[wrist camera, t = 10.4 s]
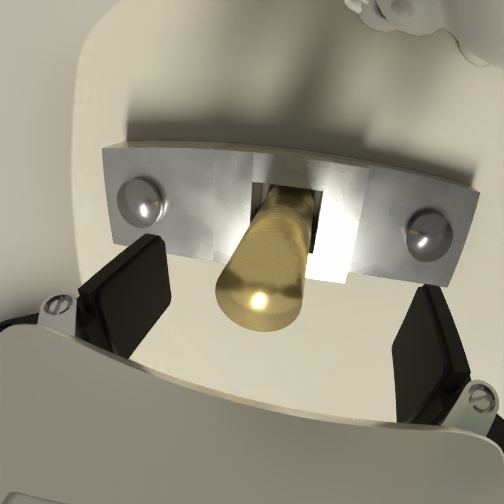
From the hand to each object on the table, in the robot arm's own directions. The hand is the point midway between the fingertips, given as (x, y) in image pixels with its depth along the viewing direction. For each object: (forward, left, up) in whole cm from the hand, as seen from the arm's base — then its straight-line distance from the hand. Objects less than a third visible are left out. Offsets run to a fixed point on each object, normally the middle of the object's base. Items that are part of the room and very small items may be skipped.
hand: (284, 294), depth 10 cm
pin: (+1, 0, -10) cm, 10 cm away
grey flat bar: (+1, 0, -10) cm, 10 cm away
